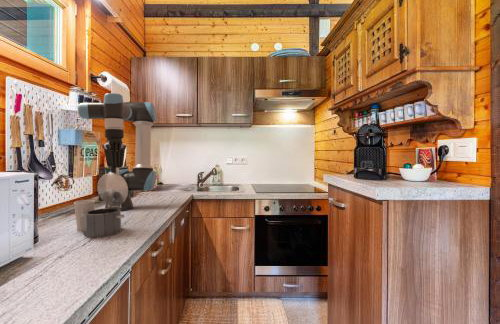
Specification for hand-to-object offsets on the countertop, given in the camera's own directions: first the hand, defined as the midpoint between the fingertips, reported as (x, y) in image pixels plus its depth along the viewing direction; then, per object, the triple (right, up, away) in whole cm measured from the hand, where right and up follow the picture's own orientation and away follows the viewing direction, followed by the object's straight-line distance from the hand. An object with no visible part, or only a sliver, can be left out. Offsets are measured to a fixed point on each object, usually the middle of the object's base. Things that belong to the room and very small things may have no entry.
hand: (115, 182), depth 123 cm
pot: (-2, -20, -7) cm, 22 cm away
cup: (-13, -21, 0) cm, 24 cm away
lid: (-1, -3, -2) cm, 4 cm away
